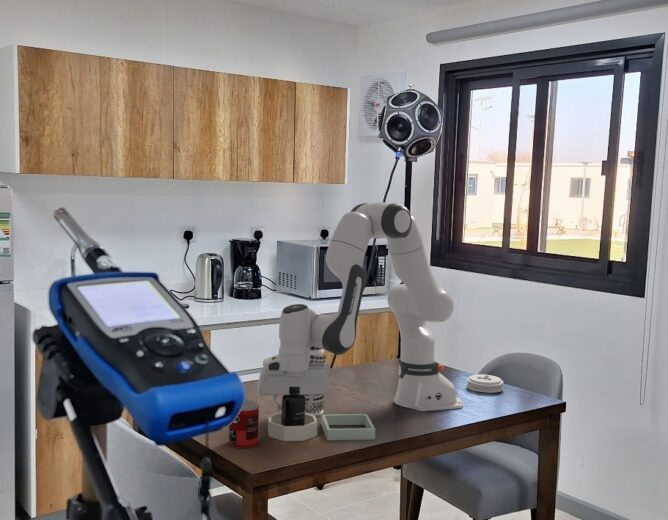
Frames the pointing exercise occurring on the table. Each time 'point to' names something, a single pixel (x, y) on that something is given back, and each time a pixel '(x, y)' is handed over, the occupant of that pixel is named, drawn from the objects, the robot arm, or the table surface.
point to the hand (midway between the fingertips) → (293, 409)
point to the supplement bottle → (293, 408)
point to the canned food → (245, 426)
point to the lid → (485, 383)
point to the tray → (348, 433)
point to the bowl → (292, 429)
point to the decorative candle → (317, 403)
